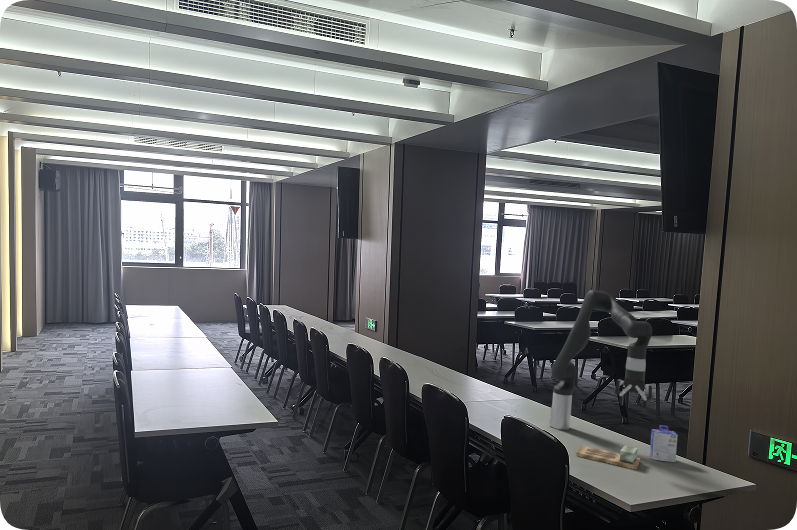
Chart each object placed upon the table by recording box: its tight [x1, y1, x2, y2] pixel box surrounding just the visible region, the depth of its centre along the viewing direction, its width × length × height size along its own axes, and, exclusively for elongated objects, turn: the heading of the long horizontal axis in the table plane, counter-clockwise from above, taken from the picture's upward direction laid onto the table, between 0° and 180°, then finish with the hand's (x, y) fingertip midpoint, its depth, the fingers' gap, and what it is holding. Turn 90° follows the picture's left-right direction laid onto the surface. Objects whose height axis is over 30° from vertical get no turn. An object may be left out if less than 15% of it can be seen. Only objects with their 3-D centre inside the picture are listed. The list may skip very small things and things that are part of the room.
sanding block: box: [619, 445, 638, 464], centre depth 232 cm, size 5×9×4 cm, turn 146°
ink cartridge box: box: [649, 424, 679, 463], centre depth 241 cm, size 10×6×14 cm, turn 78°
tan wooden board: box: [575, 445, 641, 471], centre depth 236 cm, size 24×12×2 cm, turn 60°
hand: (632, 406), depth 232 cm, fingers open, 8 cm apart
